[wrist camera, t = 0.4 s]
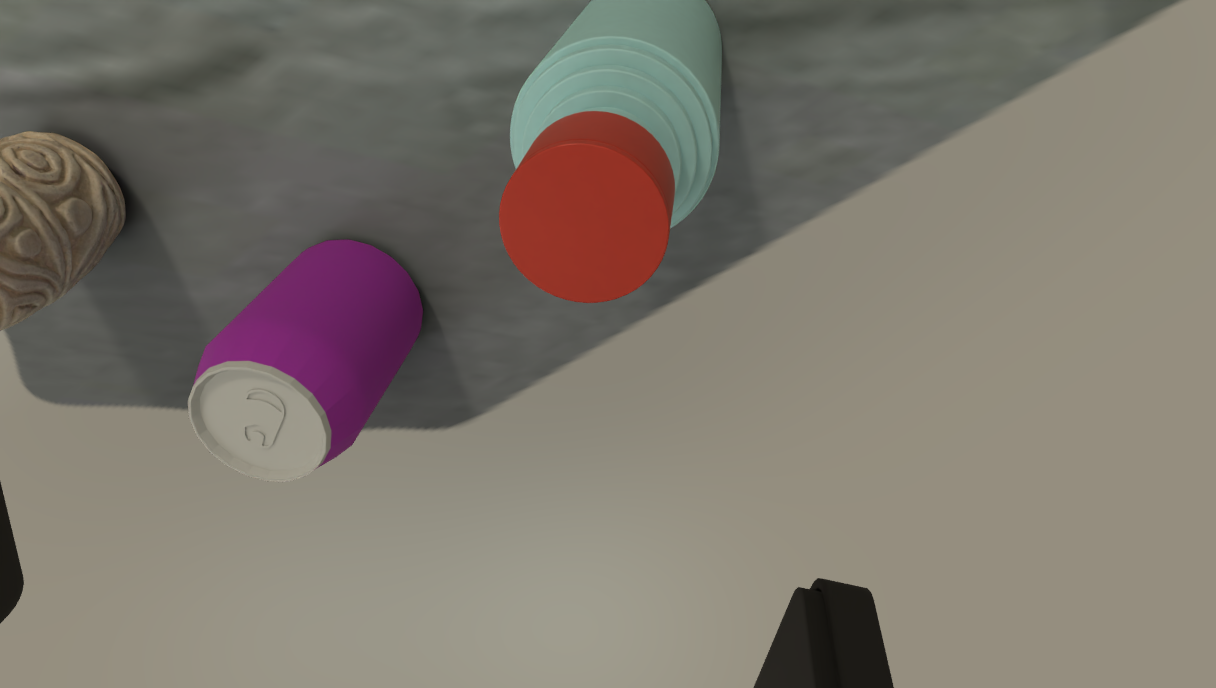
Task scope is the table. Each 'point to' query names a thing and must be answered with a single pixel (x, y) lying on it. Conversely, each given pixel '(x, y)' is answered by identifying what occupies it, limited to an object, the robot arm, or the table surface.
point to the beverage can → (305, 361)
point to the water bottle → (636, 83)
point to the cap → (589, 208)
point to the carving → (51, 219)
